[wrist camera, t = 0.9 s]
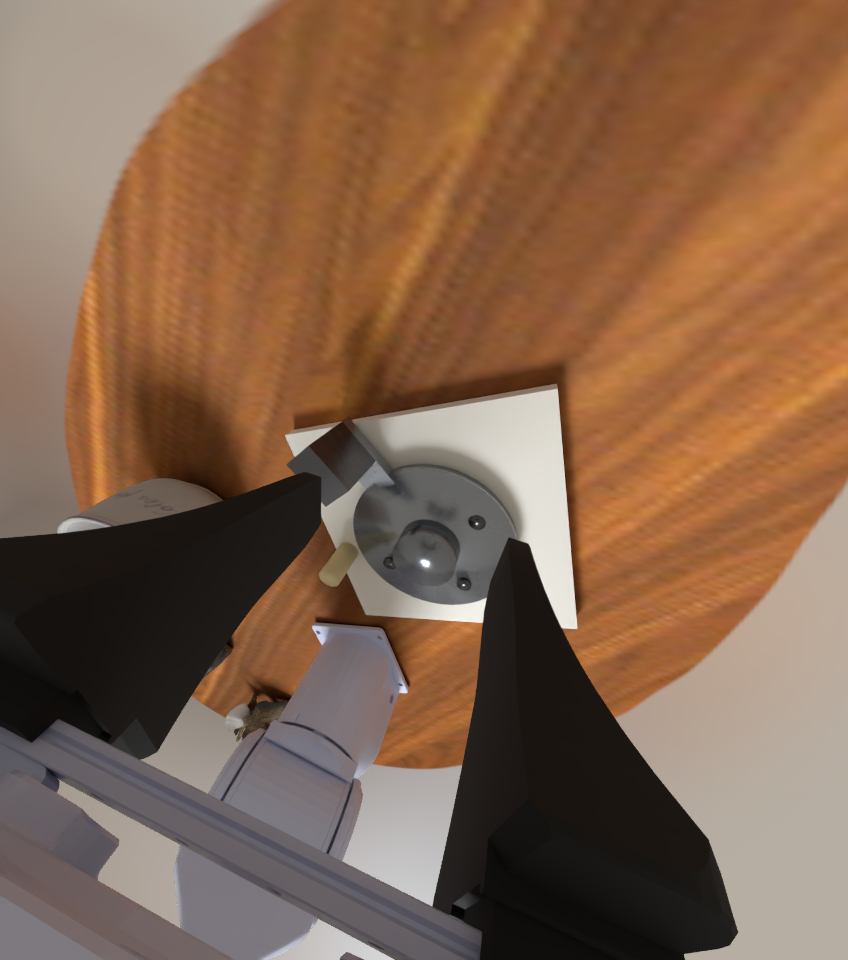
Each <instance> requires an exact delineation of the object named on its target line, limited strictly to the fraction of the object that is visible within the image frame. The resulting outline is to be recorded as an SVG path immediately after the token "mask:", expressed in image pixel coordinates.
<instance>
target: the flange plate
mask: <svg viewBox="0 0 848 960" xmlns="http://www.w3.org/2000/svg"><path fill="white" fill-rule="evenodd" d="M287 466H288V467H289V468H290V469H291V470H292V471H293V472H294V473H295V474H300V473H303V472H307V473H311V474H314V475H317V476H320V477H321V502H322V503H323V505H324V506H325V507H327V506H328V505H329V504H331V503H332V502H334V501H335V500H337V499H338V498H340V497H341V496H343V495H344V494H346V493H347V492H348V491H350V489H351V488H352V487H353V486H354V485H355V484H356V483H357V482H358V481H359V482H360V483H361V484H362V485H363V486H364V488H365V489H366V490H365V491H364V493H363V494H362V496H361V497H360V499H359V500H358V503H357V505H356V508H355V512H354V518H353V527H354V534H355V538H356V542H357V544H358V547H359V549H360V551H361V553H362V555H363V557H364V558H365V559H366V561H367V562H368V564H369V565H370V566H371V567H372V569H373V570H374V571H375V572H376V573H377V574H378V575H379V576H380V577H381V578H383V579H384V580H385V581H386V582H388V583H389V584H390V585H392V586H393V587H395V588H396V589H398V590H400V591H402V592H404V593H405V594H408V595H410V596H412V597H415V598H418V599H420V600H423V601H427V602H431V603H437V604H445V605H461V604H468V603H473V602H477V601H480V600H482V599H485V598H487V595H488V590H489V585H490V581H491V579H492V576H493V574H494V571H495V569H496V567H497V564H498V562H499V559H500V557H501V554H502V552H503V550H504V547H505V545H506V542H507V540H508V537H510V538H513V539H516V540H517V533H516V529H515V525H514V522H513V520H512V518H511V516H510V514H509V512H508V510H507V509H506V507H505V506H504V504H503V503H502V502H501V501H500V499H499V498H498V497H497V496H496V495H495V494H494V493H493V492H492V491H491V490H490V489H488V488H487V487H486V486H485V485H483V484H482V483H480V482H479V481H478V480H476V479H474V478H472V477H470V476H469V475H467V474H465V473H462V472H460V471H457V470H455V469H451V468H448V467H444V466H439V465H433V464H411V465H405V466H401V467H397V468H394V469H392V468H391V467H390V466H389V464H388V463H387V462H386V461H385V460H384V458H383V457H382V456H381V455H380V454H379V452H378V451H377V450H376V449H375V448H374V446H373V445H372V444H371V443H370V442H369V440H368V439H367V438H366V437H365V436H364V434H363V433H362V432H361V431H360V430H359V428H358V427H357V426H356V425H355V424H354V422H353V421H352V420H351V419H350V418H349V417H348V418H346V419H345V420H343V421H342V422H341V423H339V424H338V425H336V426H335V427H334V428H332V429H331V430H329V431H328V432H327V433H325V434H324V435H322V436H321V437H320V438H318V439H317V440H315V441H314V442H313V443H311V444H310V445H308V446H307V447H306V448H305V449H304V450H303V451H302V452H300V453H299V454H298V455H297V456H296V457H295V458H294V459H292V460H291V461H290V462H289V463H288V464H287Z"/></svg>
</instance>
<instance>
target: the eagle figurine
mask: <svg viewBox="0 0 848 960" xmlns="http://www.w3.org/2000/svg"><path fill="white" fill-rule="evenodd" d="M256 699H257V696H256V695H255V694H254V695H253V697H252V699H251V701H250V703H249V704H248V705H246V704H245V703H242V704H240V705H238V706H236V707H234V708H232V709H231V710H230V712H229V713H228V714H227V715H226V718H225V724H226V727H227V729H228V730H229V731H232V730H234V733H235V735H237V734H238V732H239V734H238V736H237V739H236V741H237V742H238V741H239V740H240V738H241V737H243V739H244V738H245V737H246V736H247V735H248V734H250V733H252V732H254V731H256V730H257V729H259V728H262V729H264V730H266V731H267V730H268V728H269V726H270V723H271V722H272V721H273V720H277V721H278V719H279V717H280V716H281V714H282V712H283V711H284V709H285V707H286V706H287V704H288V702H289V701H290V700H288V701H286V700H284V701H283V702H281V701H278V702H276V703H275V702H270V703H269V701H266V700H265V701H262V702H259V703H258V704H257V701H256ZM245 727H246V729H245V730H244V728H245ZM243 730H244V732H243ZM242 734H243V735H242ZM243 739H242V740H243Z"/></svg>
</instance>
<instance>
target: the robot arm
mask: <svg viewBox="0 0 848 960" xmlns="http://www.w3.org/2000/svg"><path fill="white" fill-rule="evenodd" d="M320 524H321V477H320V476H317V475H314V474H311V473H307V472H303V473H300V474H296V475H294V476H291V477H288V478H285V479H282V480H280V481H277V482H274V483H272V484H269V485H266V486H263V487H261V488H258V489H255V490H252V491H250V492H247V493H244V494H241V495H238V496H235V497H232V498H229V499H226V500H223V501H219V502H216V503H213V504H210V505H207V506H203V507H200V508H196V509H193V510H189V511H185V512H181V513H177V514H173V515H169V516H164V517H160V518H154V519H149V520H144V521H139V522H133V523H128V524H123V525H117V526H111V527H104V528H98V529H91V530H83V531H75V532H67V533H58V534H48V535H36V536H24V537H13V538H0V960H270V959H272V958H274V957H276V956H278V955H280V954H282V953H283V952H285V951H287V950H289V949H291V948H293V947H295V946H296V945H298V944H299V943H301V942H302V941H303V940H304V939H305V937H306V936H307V934H308V933H309V931H310V929H312V928H313V927H314V925H315V924H316V922H317V920H318V919H320V920H322V921H324V922H326V923H328V924H330V925H331V926H333V927H335V928H337V929H339V930H341V931H343V932H344V933H346V934H348V935H350V936H352V937H354V938H356V939H358V940H359V941H361V942H363V943H365V944H367V945H369V946H371V947H373V948H375V949H376V950H378V951H380V952H382V953H384V954H386V955H387V956H389V957H391V958H393V959H395V960H685V958H684V954H685V953H693V952H700V951H707V950H714V949H719V948H723V947H726V946H729V945H730V944H731V942H732V941H733V939H734V938H735V936H736V935H737V933H738V930H737V927H736V924H735V920H734V917H733V914H732V911H731V907H730V904H729V900H728V897H727V893H726V890H725V886H724V883H723V879H722V876H721V873H720V870H719V867H718V865H717V862H716V859H715V856H714V854H713V851H712V848H711V845H710V843H709V840H708V838H707V837H706V836H705V835H704V834H703V832H702V831H701V830H700V829H699V827H698V826H697V825H696V824H695V823H694V821H693V820H692V819H691V818H690V816H689V815H688V814H687V813H686V811H685V810H684V809H683V808H682V807H681V805H680V804H679V803H678V802H677V800H676V799H675V798H674V797H673V796H672V794H671V793H670V792H669V791H668V789H667V788H666V787H665V786H664V784H663V783H662V782H661V781H660V779H659V778H658V777H657V776H656V775H655V773H654V772H653V770H652V769H651V768H650V766H649V765H648V764H647V762H646V761H645V760H644V758H643V757H642V756H641V754H640V753H639V752H638V750H637V749H636V748H635V746H634V745H633V744H632V742H631V741H630V740H629V738H628V737H627V735H626V734H625V733H624V731H623V730H622V728H621V727H620V726H619V724H618V722H617V721H616V719H615V718H614V716H613V715H612V713H611V712H610V710H609V709H608V707H607V706H606V704H605V703H604V701H603V700H602V698H601V697H600V695H599V694H598V692H597V691H596V689H595V688H594V686H593V684H592V683H591V681H590V679H589V678H588V676H587V674H586V673H585V671H584V669H583V668H582V666H581V664H580V662H579V660H578V659H577V657H576V655H575V653H574V651H573V650H572V648H571V646H570V644H569V642H568V640H567V638H566V636H565V634H564V632H563V630H562V628H561V626H560V624H559V621H558V619H557V617H556V615H555V613H554V610H553V608H552V606H551V603H550V601H549V598H548V596H547V594H546V591H545V589H544V586H543V583H542V581H541V578H540V575H539V572H538V570H537V567H536V564H535V561H534V558H533V554H532V551H531V548H530V546H529V544H528V543H525V542H522V541H519V540H516V539H513V538H510V537H508V540H507V542H506V545H505V547H504V550H503V552H502V554H501V557H500V559H499V562H498V564H497V567H496V569H495V571H494V574H493V576H492V579H491V581H490V585H489V590H488V595H487V599H486V604H485V609H484V617H483V627H482V637H481V648H480V659H479V669H478V680H477V688H476V696H475V702H474V707H473V713H472V718H471V723H470V729H469V734H468V739H467V744H466V749H465V754H464V760H463V765H462V770H461V775H460V780H459V784H458V789H457V794H456V799H455V804H454V809H453V814H452V818H451V823H450V828H449V833H448V837H447V842H446V846H445V851H444V855H443V860H442V865H441V869H440V874H439V878H438V883H437V887H436V892H435V896H434V902H433V907H432V906H430V905H428V904H426V903H424V902H422V901H420V900H418V899H416V898H414V897H412V896H410V895H408V894H406V893H404V892H402V891H400V890H398V889H396V888H394V887H392V886H390V885H388V884H386V883H384V882H382V881H380V880H378V879H376V878H374V877H371V876H370V875H368V874H366V873H364V872H362V871H360V870H358V869H356V868H354V867H352V866H350V865H348V864H346V863H344V862H342V860H343V857H344V855H345V852H346V850H347V847H348V844H349V841H350V839H351V835H352V833H353V830H354V827H355V823H356V821H357V817H358V814H359V810H360V806H361V802H362V796H363V794H362V790H361V783H360V781H359V780H358V779H356V778H357V777H359V776H361V775H362V774H363V773H364V772H365V771H366V770H367V769H368V768H369V767H370V766H371V765H372V763H373V762H374V760H375V759H376V757H377V755H378V753H379V750H380V747H381V745H382V742H383V739H384V736H385V733H386V730H387V727H388V724H389V721H390V718H391V715H392V712H393V709H394V706H395V703H396V700H397V698H398V695H399V693H407V692H408V690H409V688H408V685H407V683H406V681H405V678H404V676H403V674H402V672H401V669H400V667H399V665H398V662H397V660H396V658H395V655H394V653H393V651H392V648H391V646H390V644H389V641H388V639H387V637H386V634H385V632H384V630H383V629H381V628H379V627H367V626H354V625H342V624H329V623H314V624H313V626H312V628H313V630H314V632H315V634H316V635H317V637H318V639H319V641H320V643H321V644H322V647H321V648H320V650H319V652H318V653H317V655H316V657H315V659H314V660H313V662H312V664H311V665H310V667H309V669H308V670H307V672H306V674H305V675H304V677H303V679H302V680H301V682H300V684H299V685H298V687H297V689H296V690H295V692H294V694H293V695H292V697H291V699H290V701H289V702H288V704H287V706H286V707H285V709H284V711H283V712H282V714H281V716H280V717H279V719H278V721H277V720H273V721H272V723H271V725H270V726H269V728H268V730H267V731H266V730H264V729H262V728H259V729H257V730H256V731H254V732H252V733H250V734H248V735H247V736H246V737H245V738H244V739H243V740H242V742H241V743H240V744H239V746H238V747H237V748H236V750H235V751H234V753H233V754H232V755H231V757H230V758H229V760H228V761H227V763H226V764H225V766H224V767H223V769H222V771H221V772H220V774H219V776H218V777H217V779H216V781H215V782H214V784H213V786H212V787H211V789H210V791H209V793H208V794H207V793H205V792H203V791H201V790H199V789H197V788H195V787H193V786H191V785H189V784H187V783H185V782H183V781H181V780H179V779H177V778H175V777H173V776H171V775H169V774H167V773H165V772H163V771H161V770H159V769H157V768H155V767H153V766H151V765H149V764H147V763H145V762H143V761H141V760H140V759H144V758H146V757H149V756H150V755H152V754H154V753H156V752H157V751H158V749H159V748H160V746H161V744H162V743H163V741H164V739H165V738H166V736H167V734H168V733H169V731H170V729H171V728H172V726H173V724H174V723H175V721H176V720H177V718H178V716H179V715H180V713H181V711H182V710H183V708H184V706H185V705H186V703H187V702H188V700H189V698H190V697H191V695H192V694H193V692H194V691H195V689H196V688H197V686H198V685H199V683H200V682H201V680H202V678H203V677H204V675H205V674H206V672H207V671H208V669H209V668H210V666H211V665H212V663H213V662H214V660H215V659H216V657H217V656H218V655H219V653H220V652H221V650H222V649H223V647H224V646H225V644H226V643H227V642H228V640H229V639H230V637H231V636H232V634H233V633H234V632H235V630H236V629H237V628H238V626H239V625H240V623H241V622H242V621H243V619H244V618H245V617H246V615H247V614H248V612H249V611H250V610H251V608H252V607H253V606H254V605H255V604H256V602H257V601H258V600H259V599H260V598H261V596H262V595H263V594H264V593H265V592H266V591H267V590H268V589H269V587H270V586H271V585H272V584H273V583H274V582H275V581H276V580H277V579H278V577H279V576H280V575H281V574H282V573H283V572H284V571H285V570H286V568H287V567H288V566H289V565H290V564H291V563H292V562H293V561H294V559H295V558H296V557H297V556H298V555H299V554H300V553H301V551H302V550H303V549H304V548H305V547H306V545H307V544H308V542H309V541H310V539H311V538H312V537H313V535H314V534H315V532H316V530H317V529H318V527H319V526H320ZM58 779H59V780H61V781H63V782H65V783H66V784H68V785H70V786H72V787H74V788H76V789H78V790H79V791H81V792H83V793H85V794H87V795H89V796H91V797H93V798H94V799H96V800H98V801H100V802H102V803H104V804H106V805H107V806H109V807H111V808H113V809H115V810H117V811H119V812H121V813H122V814H124V815H126V816H128V817H130V818H132V819H134V820H135V821H137V822H139V823H141V824H143V825H145V826H147V827H149V828H150V829H152V830H154V831H156V832H158V833H160V834H162V835H163V836H165V837H167V838H169V839H171V840H173V841H175V842H177V843H178V844H180V847H179V851H178V855H177V858H176V861H175V866H174V881H175V888H176V895H177V904H178V911H179V918H180V927H181V928H179V927H177V926H175V925H174V924H172V923H170V922H168V921H167V920H165V919H163V918H162V917H160V916H158V915H156V914H155V913H153V912H151V911H149V910H147V909H146V908H144V907H143V906H141V905H139V904H137V903H136V902H134V901H132V900H130V899H129V898H127V897H125V896H124V895H122V894H120V893H118V892H116V891H115V890H113V889H111V888H110V887H108V886H106V885H105V884H103V883H101V882H99V881H98V874H99V871H100V870H101V868H102V867H103V866H104V864H105V863H106V862H107V860H108V859H109V858H110V856H111V855H112V854H113V852H114V851H115V850H116V848H117V847H118V845H119V839H118V838H116V837H115V836H114V835H112V834H111V833H109V832H108V831H107V830H105V829H104V828H102V827H101V826H100V825H99V824H98V823H96V822H95V821H94V820H93V819H91V818H90V817H89V816H88V815H87V814H86V813H85V812H84V810H83V809H82V808H80V807H78V806H77V805H75V804H74V803H72V802H70V801H69V800H67V799H66V798H64V797H62V796H61V795H59V794H58V793H57V791H58V789H59V780H58ZM340 960H364V959H361V958H359V957H357V956H355V955H352V954H350V953H348V952H346V953H345V954H344V955H343V956H341V958H340Z"/></svg>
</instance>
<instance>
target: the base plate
mask: <svg viewBox="0 0 848 960" xmlns="http://www.w3.org/2000/svg"><path fill="white" fill-rule="evenodd" d="M352 421H353V422H354V424H355V425H356V426H357V427H358V428H359V430H360V431H361V432H362V433H363V434H364V436H365V437H366V438H367V439H368V440H369V442H370V443H371V444H372V445H373V446H374V448H375V449H376V450H377V451H378V452H379V454H380V455H381V456H382V457H383V458H384V460H385V461H386V462H387V463H388V464H389V466H390V467H391V468H392V469H394V468H397V467H401V466H405V465H411V464H433V465H439V466H444V467H448V468H451V469H455V470H457V471H460V472H462V473H465V474H467V475H469V476H470V477H472V478H474V479H476V480H478V481H479V482H480V483H482V484H483V485H485V486H486V487H487V488H488V489H490V490H491V491H492V492H493V493H494V494H495V495H496V496H497V497H498V498H499V499H500V501H501V502H502V503H503V504H504V506H505V507H506V509H507V510H508V512H509V514H510V516H511V518H512V520H513V522H514V525H515V529H516V533H517V540H519V541H522V542H525V543H528V544H529V546H530V548H531V551H532V554H533V558H534V561H535V564H536V567H537V570H538V572H539V575H540V578H541V581H542V583H543V586H544V589H545V591H546V594H547V596H548V598H549V601H550V603H551V606H552V608H553V610H554V613H555V615H556V617H557V619H558V621H559V624H560V626H561V628H571V629H577V618H576V606H575V594H574V582H573V570H572V557H571V545H570V533H569V521H568V508H567V496H566V484H565V472H564V460H563V447H562V435H561V423H560V411H559V398H558V388H557V384H552V385H546V386H540V387H535V388H529V389H523V390H518V391H512V392H506V393H501V394H495V395H489V396H483V397H478V398H472V399H466V400H461V401H455V402H449V403H444V404H438V405H432V406H427V407H421V408H415V409H409V410H404V411H398V412H392V413H387V414H381V415H375V416H370V417H364V418H358V419H353V420H352ZM341 422H342V421H341ZM341 422H335V423H330V424H324V425H318V426H313V427H307V428H301V429H296V430H293V431H291V432H289V433H288V434H286V435H285V437H286V439H287V441H288V443H289V446H290V448H291V450H292V452H293V454H294V457H296V456H297V455H298V454H299V453H300V452H302V451H303V450H304V449H305V448H306V447H307V446H308V445H310V444H311V443H313V442H314V441H315V440H317V439H318V438H320V437H321V436H322V435H324V434H325V433H327V432H328V431H329V430H331V429H332V428H334V427H335V426H336V425H338V424H339V423H341ZM365 490H366V489H365V488H364V486H363V485H362V484H361V483H360V482H359V481H358V482H357V483H356V484H355V485H354V486H353V487H352V488H351V489H350V491H348V492H347V493H346V494H344V495H343V496H341V497H340V498H338V499H337V500H335V501H334V502H332V503H331V504H329V505H328V506H327V507H325V506H324V505H323V503H322V502H321V516H322V519H323V521H324V523H325V525H326V528H327V530H328V532H329V534H330V536H331V539H332V541H333V543H334V545H335V548H336V551H335V552H334V554H333V555H332V556H331V558H330V559H329V560H328V562H327V563H326V564H325V566H324V567H323V568H322V570H321V571H320V572H319V577H320V579H321V581H322V582H323V583H325V584H326V585H328V586H331V587H336V586H338V585H339V583H340V582H341V580H342V579H343V577H344V576H345V574H346V573H347V574H348V576H349V579H350V581H351V583H352V585H353V587H354V590H355V592H356V594H357V596H358V599H359V601H360V603H361V605H362V607H363V610H364V612H365V614H366V615H373V616H388V617H404V618H419V619H434V620H449V621H464V622H480V623H483V617H484V609H485V604H486V599H487V598H485V599H482V600H480V601H477V602H473V603H468V604H461V605H445V604H437V603H431V602H427V601H423V600H420V599H418V598H415V597H412V596H410V595H408V594H405V593H404V592H402V591H400V590H398V589H396V588H395V587H393V586H392V585H390V584H389V583H388V582H386V581H385V580H384V579H383V578H381V577H380V576H379V575H378V574H377V573H376V572H375V571H374V570H373V569H372V567H371V566H370V565H369V564H368V562H367V561H366V559H365V558H364V557H363V555H362V553H361V551H360V549H359V547H358V544H357V542H356V538H355V534H354V527H353V518H354V512H355V508H356V505H357V503H358V500H359V499H360V497H361V496H362V494H363V493H364V491H365Z"/></svg>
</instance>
